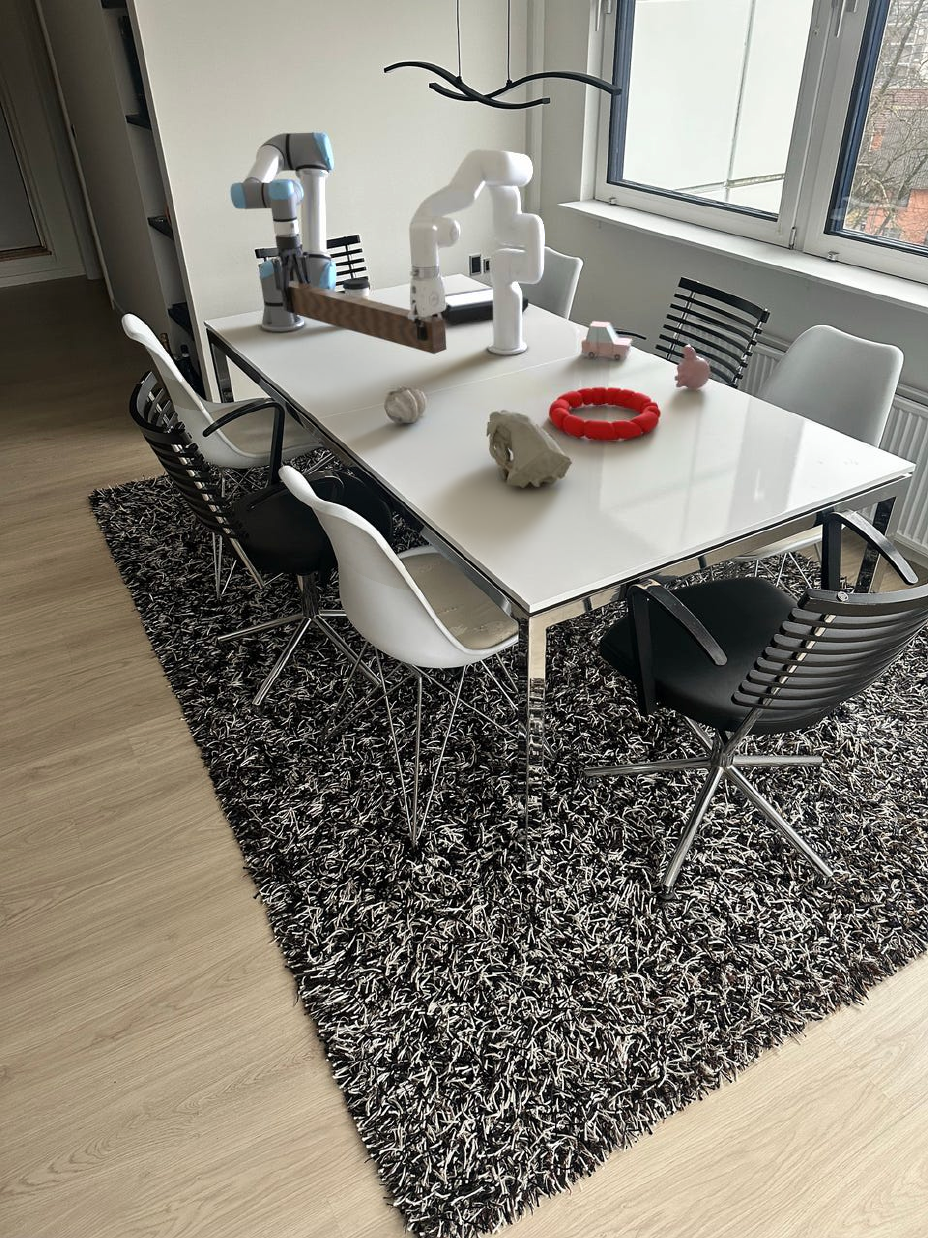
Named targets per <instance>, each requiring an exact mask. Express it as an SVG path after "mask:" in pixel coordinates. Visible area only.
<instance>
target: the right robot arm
mask: <svg viewBox="0 0 928 1238" xmlns="http://www.w3.org/2000/svg"><path fill="white" fill-rule="evenodd" d="M532 176H533V164H532V161H531V159H530V158H529V156H528V155H526V154H524V153H518V152H513V151H508V150H502V149H486V148H477V149H473V150H470V151H469V152H468V153H467V154H466V156H465V157H464V159H463V160H462V162H461V163H460V165H459V167H458V169H457V170H456V172H455V174H454V175H453V177H452V178H451V180H450V182H449V183H448V184H447V185H445V186H443V187H442V188H440V189H438V190H436V191H435V192H433V193H432V194H430V195H429V196H428V197H426V198H425V199H424V200H423V201H422V202H421V203H420V204H419V206H418V207H417V209H416V210H415V212H414V213H413V216H412V218H411V220H410V223H409V229H408V231H409V234H408V235H409V247H410V248H409V249H410V263H411V270H410V272H409V275H410V276H411V278H410V286H409V288H410V289H409V307H410V308H409V310H410V311H409V314H408V316H407V317H408V319H410V320H411V321H412V322H413V323H414V325H415V326H417V339H418V340H422V341H426V327H425V326H424V322H425V317H427V316H430V315H431V316H435V317H439V318H442V316H443V314H444V311H445V310H446V308H447V306H448V305H447V303H446V300H445V295H446V291H445V284H444V279H443V276H442V274H441V273H440V263H439V261H440V260H439V249H446V248H451V247H453V246H455V245H456V243H458V241H459V239H460V238H461V237H460V236H461V226H460V223H458V222H457V220H455V219H454V218H451V217H446V216H448V215H451V214H454V213H458V212H462V211H464V210H467V209H469V208H470V207H472V206H473V205H474V203H475V202H476V200H477V198H478V197H479V196H480V193H481V191H482V190H483V188H484V186H486V187H487V189H488V191H489V193H490V197H491V204H492V226H493V227H492V228H493V229H492V231H493V238H494V241H495V242H496V243H497V244H500V245H502V246H503V245H504V246H509V247H521V248H523V249H516V248H499V249H496V250H494V251H493V252H492V253H491V255H490V258H489V262H488V267H489V268H488V269H489V273H490V278H491V285H492V286H491V288H493V318H492V340H493V341H492V342H491V343H489V345H488V351H489V352H491V353H492V354H495V355H496V354H497V355H503V356H504V355H507V356H509V355H510V356H511V355H517V354H521V353H523V352H524V353H525V351H526V350H527V344H526V343H525V342H524V341H523V313H522V296H523V293H522V289H521V287H520V285H519V284H529V285H534V284H537V283H539V282H540V281H541V279H542V277H543V275H544V267H545V227H544V224H543V220H542V219H541V217H540V216H539V215H537V214H534V213H528V212H527V213H526V212H523V211H522V210H521V195H520V191H519V188H522V187H525V186H527V184H529V182H530V181H531V179H532ZM415 315H416V316H415ZM420 317H421V320H419V318H420Z"/></svg>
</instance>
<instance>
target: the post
mask: <svg viewBox="0 0 928 1238" xmlns="http://www.w3.org/2000/svg"><path fill="white" fill-rule="evenodd" d="M289 291H290V292H291V296H292V304H293V311H294V312H289V313H292V314H296V315H299V316H303V318H306V319H310V320H313V321H317V322H319V323H320V322H321V323H323V324H328V325H330V326H335V327H338V328H341V329H345V330H349V331H351V332H355V333H359V334H362V335H366V336H369V337H373V338H377V339H379V340H383V341H387V342H390V343H394V344H396V345H400V346H404V347H408V348H411V349H414V350H418V351H421V352H426V353H429V354H432V355H435V354H438V353H442V352H444V351H446V350H447V335H446V333H447V331H446V320H445V319H443V318H439V317H435V316H432V315H430V316H427V317H425V322H424V326H425V327H426V341H422V340H418V339H417V326H415V325H414V323H413V322H412V321H411V320H410V319H408V317H407V316H408V314H409V311H410V309H407V308H404V307H399V306H395V305H390V304H387V303H384V302H379V301H376V300H371V299H369V300H367V299H363V298H359V297H355V296H351V295H347V294H345V292H340V291H335V290H334V291H332V290H328V289H324V288H320V287H316V286H312V285H308V284H304V283H300V282H296V281H289ZM281 294H282V291H281ZM282 300H283V294H282ZM283 307H284V311H285V312H288V311H287V310H286V303H285V302H284V300H283ZM415 316H416V315H415ZM419 320H421V317H420V318H419Z"/></svg>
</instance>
